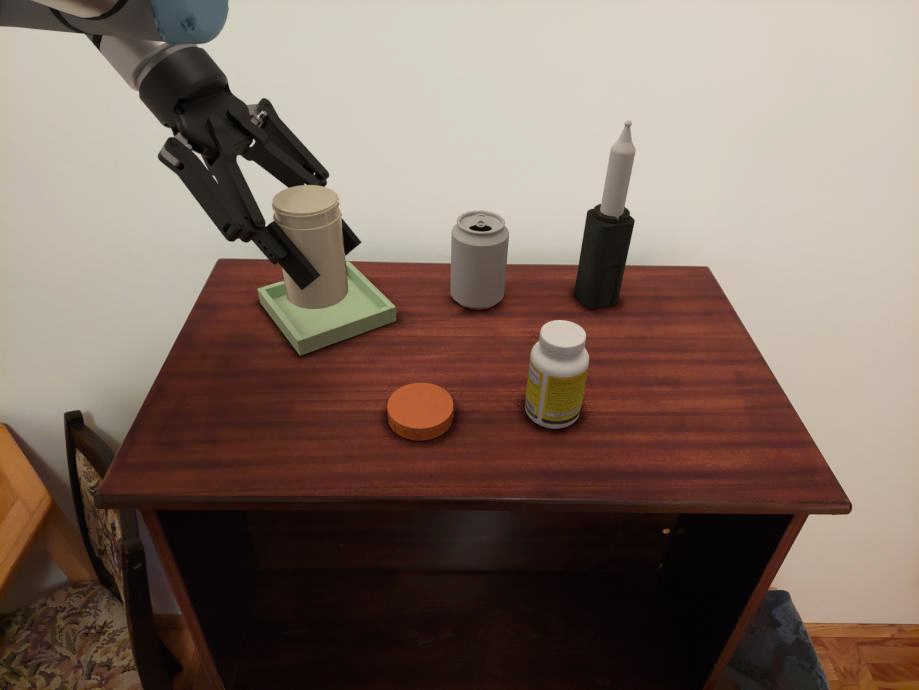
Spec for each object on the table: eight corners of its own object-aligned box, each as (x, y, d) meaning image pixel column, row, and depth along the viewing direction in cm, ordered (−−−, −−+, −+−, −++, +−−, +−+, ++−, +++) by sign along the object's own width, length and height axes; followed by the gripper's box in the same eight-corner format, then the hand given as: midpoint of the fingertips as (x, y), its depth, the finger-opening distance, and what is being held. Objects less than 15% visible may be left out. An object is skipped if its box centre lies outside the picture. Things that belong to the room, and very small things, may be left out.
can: (449, 312, 87) (450, 232, 79) (451, 282, 93) (452, 205, 85) (504, 314, 87) (511, 235, 79) (503, 283, 93) (509, 207, 85)
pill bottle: (588, 406, 73) (604, 328, 66) (563, 439, 69) (578, 360, 62) (540, 385, 76) (551, 308, 69) (513, 415, 72) (522, 337, 65)
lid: (466, 412, 72) (466, 400, 71) (425, 451, 67) (425, 438, 66) (416, 386, 75) (415, 373, 74) (374, 421, 70) (373, 408, 69)
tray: (300, 355, 79) (297, 341, 78) (260, 302, 88) (257, 288, 86) (396, 320, 85) (395, 306, 84) (350, 274, 94) (348, 260, 92)
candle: (603, 286, 93) (636, 111, 77) (620, 305, 89) (659, 125, 74) (571, 291, 92) (598, 114, 76) (587, 311, 88) (620, 129, 72)
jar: (312, 317, 64) (298, 220, 57) (273, 292, 67) (256, 198, 61) (361, 291, 68) (353, 198, 61) (322, 268, 71) (311, 178, 64)
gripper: (225, 70, 69) (364, 240, 74) (67, 125, 55) (251, 331, 60) (256, 22, 64) (403, 208, 69) (91, 70, 50) (289, 299, 55)
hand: (332, 265), depth 64 cm, fingers closed on jar, 6 cm apart
